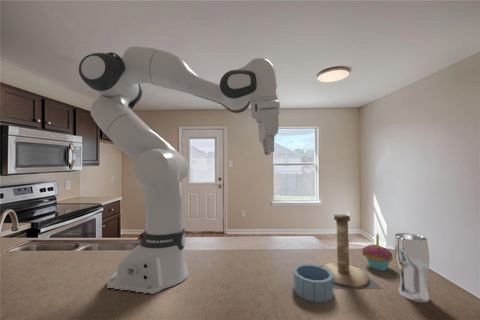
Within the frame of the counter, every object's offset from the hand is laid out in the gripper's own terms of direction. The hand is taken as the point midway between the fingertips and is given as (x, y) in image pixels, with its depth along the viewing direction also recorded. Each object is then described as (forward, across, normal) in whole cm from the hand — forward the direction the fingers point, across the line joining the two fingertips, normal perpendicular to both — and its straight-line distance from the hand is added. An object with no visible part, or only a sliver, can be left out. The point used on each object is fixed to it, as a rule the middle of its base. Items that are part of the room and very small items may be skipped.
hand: (269, 153), depth 66 cm
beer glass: (+41, +10, +32) cm, 53 cm away
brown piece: (+39, 0, +19) cm, 44 cm away
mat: (+40, 0, +19) cm, 44 cm away
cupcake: (+41, -6, +33) cm, 53 cm away
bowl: (+38, +8, +7) cm, 40 cm away
